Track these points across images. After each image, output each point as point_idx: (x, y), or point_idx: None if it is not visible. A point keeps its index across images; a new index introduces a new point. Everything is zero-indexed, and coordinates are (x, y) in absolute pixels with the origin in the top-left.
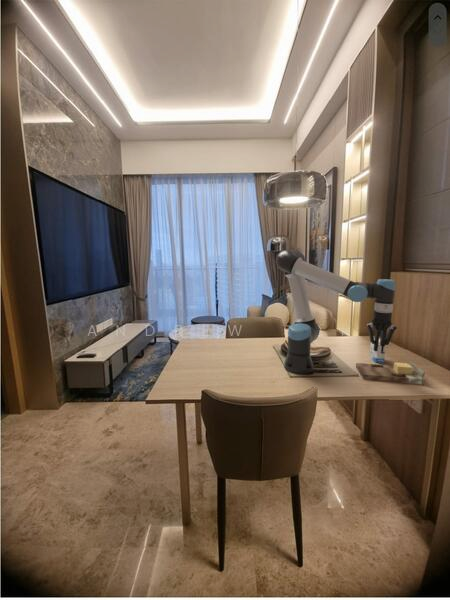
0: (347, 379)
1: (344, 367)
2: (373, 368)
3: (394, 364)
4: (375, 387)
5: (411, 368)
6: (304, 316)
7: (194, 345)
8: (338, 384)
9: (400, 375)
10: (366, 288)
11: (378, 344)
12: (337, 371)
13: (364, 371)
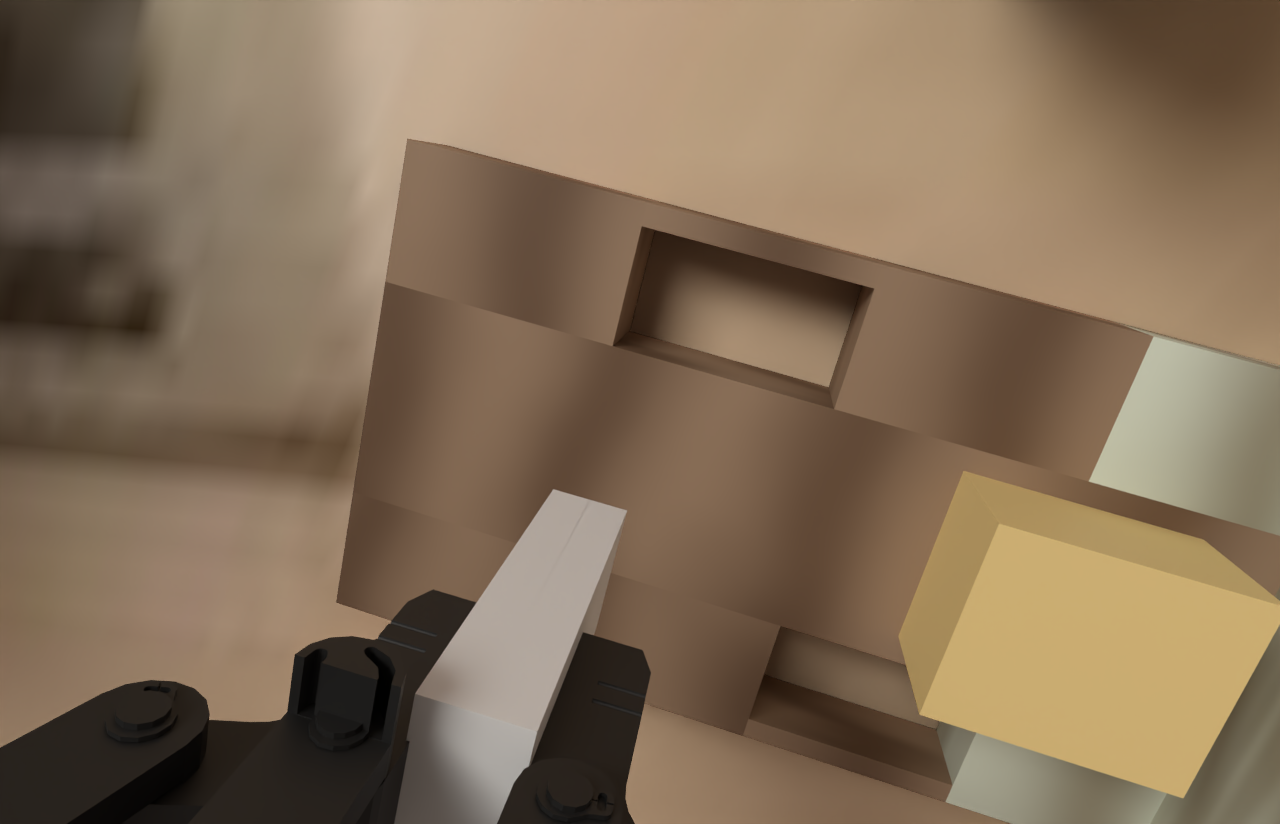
0: (176, 547)
1: (255, 144)
2: (602, 416)
3: (978, 538)
4: None
5: (1156, 776)
6: None
7: None
8: (44, 648)
9: None
10: None
11: (466, 755)
12: (111, 296)
13: (393, 511)
